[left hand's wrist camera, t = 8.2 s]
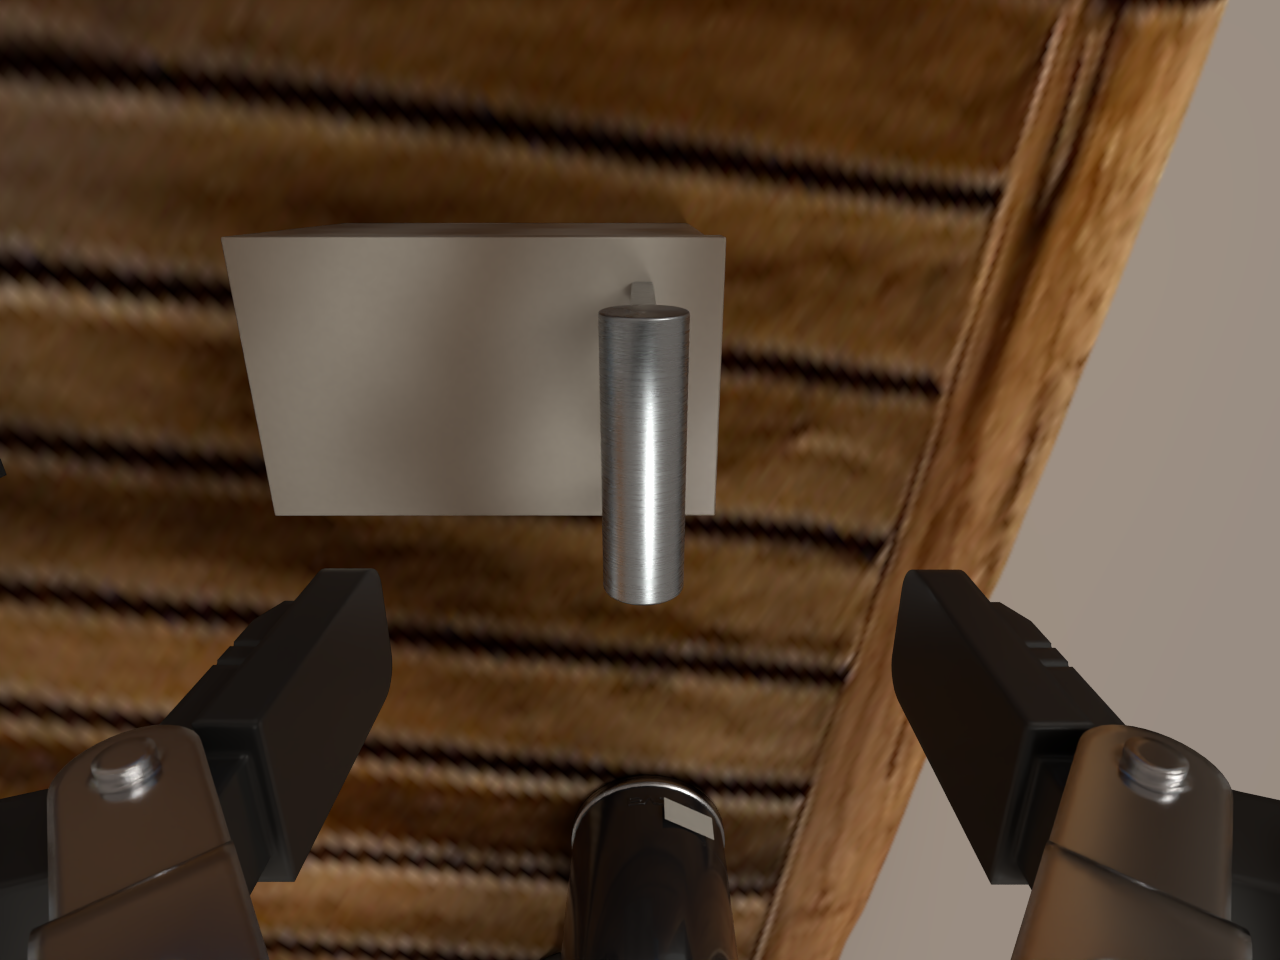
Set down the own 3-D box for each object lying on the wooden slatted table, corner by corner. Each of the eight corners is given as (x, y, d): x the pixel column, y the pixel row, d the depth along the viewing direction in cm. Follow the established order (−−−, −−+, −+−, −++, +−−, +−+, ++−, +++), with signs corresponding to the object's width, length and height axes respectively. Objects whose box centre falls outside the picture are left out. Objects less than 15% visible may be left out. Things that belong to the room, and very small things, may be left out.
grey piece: (722, 235, 24) (769, 260, 16) (712, 503, 28) (745, 646, 19) (237, 234, 24) (13, 260, 16) (288, 503, 28) (127, 647, 19)
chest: (688, 223, 33) (706, 235, 24) (683, 427, 37) (698, 503, 28) (345, 223, 33) (238, 234, 24) (373, 427, 37) (288, 503, 28)
